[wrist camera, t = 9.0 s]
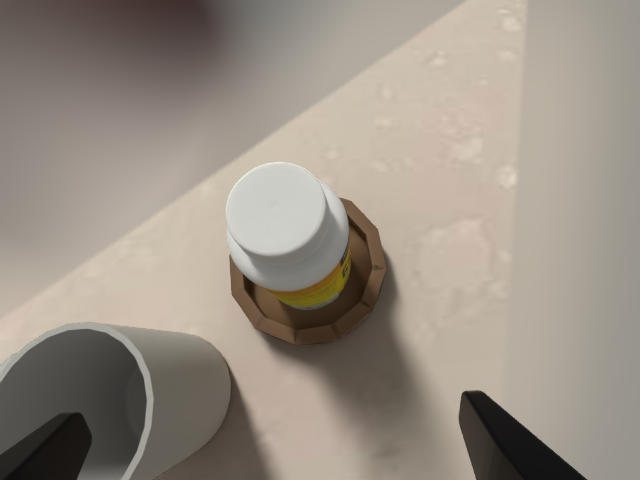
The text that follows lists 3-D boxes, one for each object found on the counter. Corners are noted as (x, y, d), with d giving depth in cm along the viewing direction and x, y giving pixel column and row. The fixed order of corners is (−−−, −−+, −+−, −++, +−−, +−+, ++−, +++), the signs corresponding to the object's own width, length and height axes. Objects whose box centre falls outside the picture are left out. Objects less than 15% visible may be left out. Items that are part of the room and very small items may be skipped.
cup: (205, 478, 20) (92, 572, 11) (68, 414, 22) (-115, 454, 13) (251, 354, 22) (184, 355, 13) (122, 306, 23) (-8, 280, 15)
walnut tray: (397, 331, 21) (401, 329, 19) (243, 356, 22) (233, 356, 20) (367, 190, 24) (368, 178, 23) (233, 214, 25) (224, 204, 23)
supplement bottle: (360, 300, 21) (364, 260, 12) (275, 319, 22) (210, 294, 12) (340, 221, 23) (330, 129, 13) (262, 239, 23) (197, 161, 14)
